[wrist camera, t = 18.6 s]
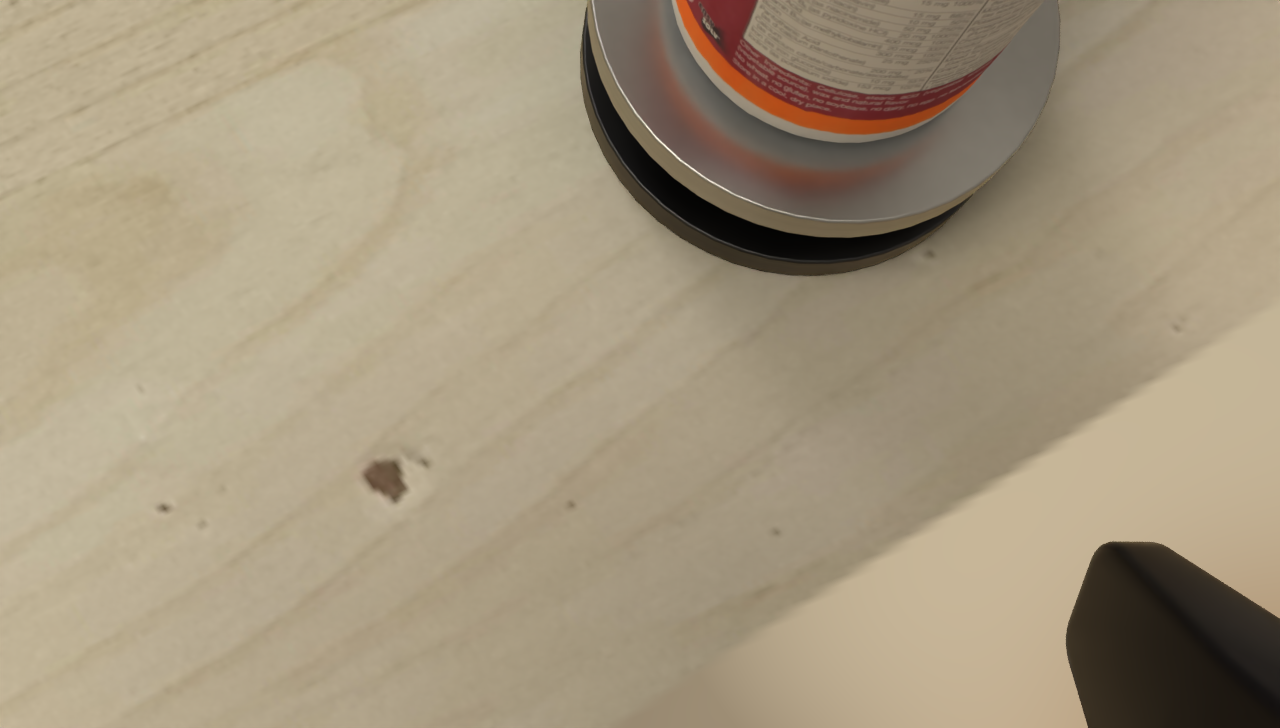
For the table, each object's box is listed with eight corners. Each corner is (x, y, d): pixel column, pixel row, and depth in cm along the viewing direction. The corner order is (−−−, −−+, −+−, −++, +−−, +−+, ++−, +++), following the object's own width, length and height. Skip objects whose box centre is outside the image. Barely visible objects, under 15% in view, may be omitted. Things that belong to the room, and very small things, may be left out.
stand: (1063, 204, 24) (1138, 143, 22) (668, 333, 23) (691, 286, 20) (900, -153, 26) (949, -253, 23) (521, -56, 24) (523, -151, 22)
